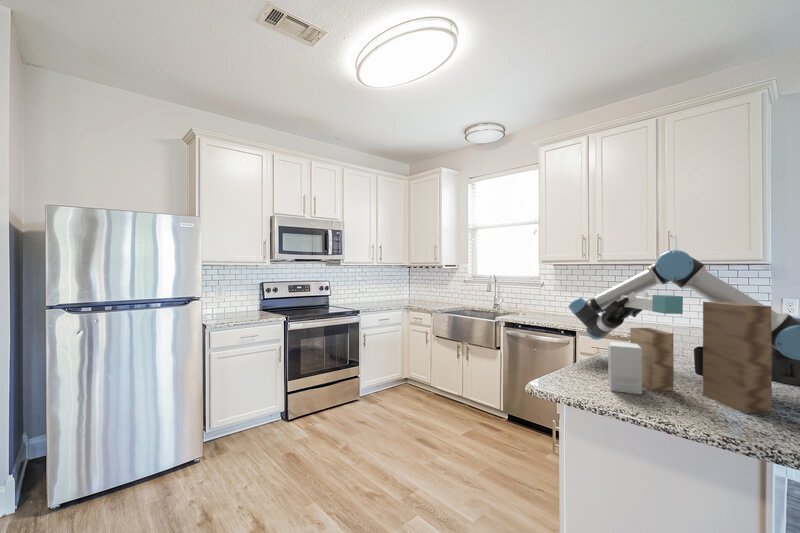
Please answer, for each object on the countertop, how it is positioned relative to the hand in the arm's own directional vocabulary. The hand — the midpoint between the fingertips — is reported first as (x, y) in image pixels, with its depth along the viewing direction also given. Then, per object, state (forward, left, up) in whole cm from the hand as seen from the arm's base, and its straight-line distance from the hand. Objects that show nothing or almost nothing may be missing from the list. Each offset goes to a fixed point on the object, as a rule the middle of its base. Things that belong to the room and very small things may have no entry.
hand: (640, 295), depth 134 cm
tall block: (-14, +23, -31) cm, 41 cm away
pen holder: (-32, -9, -31) cm, 46 cm away
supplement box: (+12, +11, -31) cm, 35 cm away
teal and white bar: (0, +4, -5) cm, 6 cm away
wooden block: (0, +6, -31) cm, 31 cm away
